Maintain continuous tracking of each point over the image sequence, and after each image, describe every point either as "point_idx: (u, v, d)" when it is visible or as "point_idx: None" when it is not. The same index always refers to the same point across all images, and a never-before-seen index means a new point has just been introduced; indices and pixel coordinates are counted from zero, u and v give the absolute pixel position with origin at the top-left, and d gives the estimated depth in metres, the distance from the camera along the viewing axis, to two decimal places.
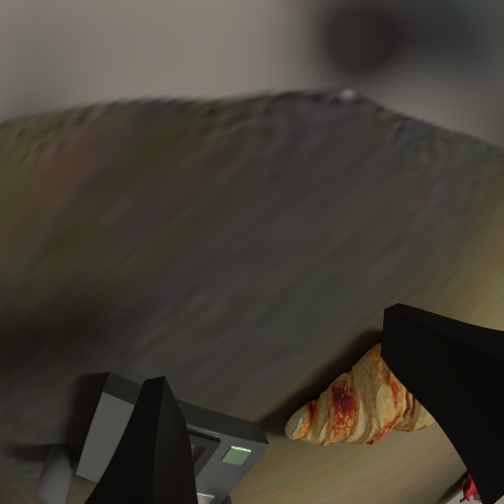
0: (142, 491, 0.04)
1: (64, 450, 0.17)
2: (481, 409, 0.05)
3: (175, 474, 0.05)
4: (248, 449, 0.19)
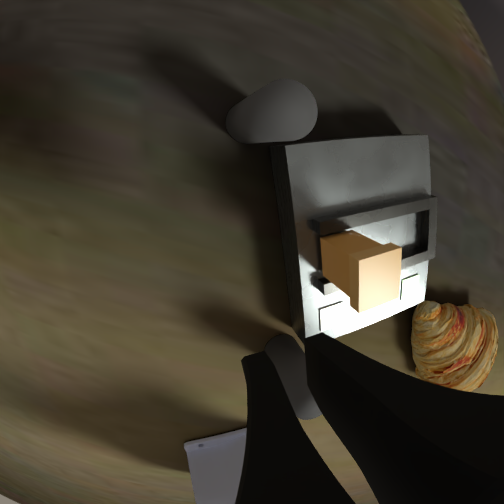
0: (305, 454, 0.04)
1: None
2: (394, 470, 0.05)
3: None
4: (417, 290, 0.20)
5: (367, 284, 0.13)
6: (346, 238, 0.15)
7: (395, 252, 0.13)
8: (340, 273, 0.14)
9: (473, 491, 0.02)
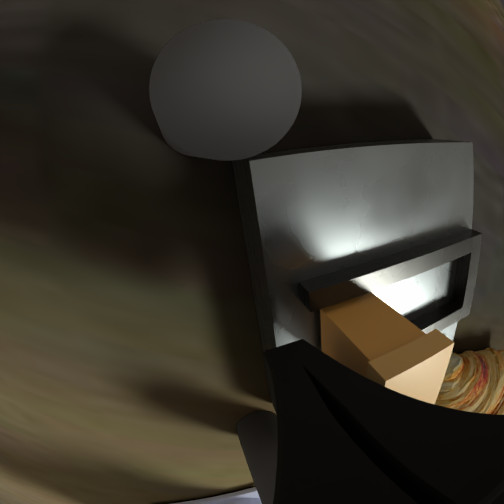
0: (339, 440, 0.04)
1: None
2: None
3: None
4: None
5: None
6: (361, 313, 0.09)
7: (443, 351, 0.07)
8: None
9: None
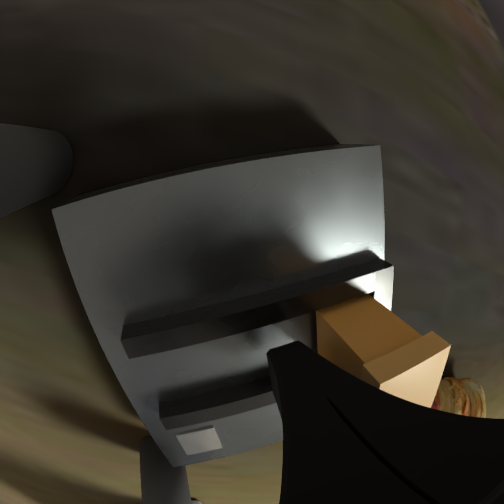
0: (344, 438, 0.04)
1: (67, 155, 0.08)
2: None
3: None
4: None
5: None
6: (357, 314, 0.09)
7: (440, 354, 0.07)
8: None
9: None
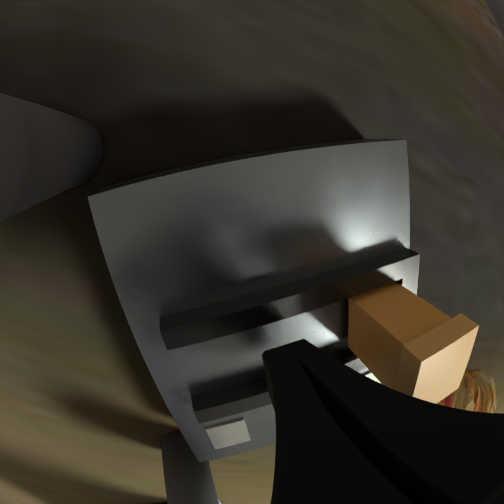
0: (337, 441, 0.04)
1: (98, 143, 0.08)
2: None
3: None
4: None
5: (425, 387, 0.07)
6: (389, 300, 0.09)
7: (469, 334, 0.07)
8: (379, 358, 0.09)
9: None
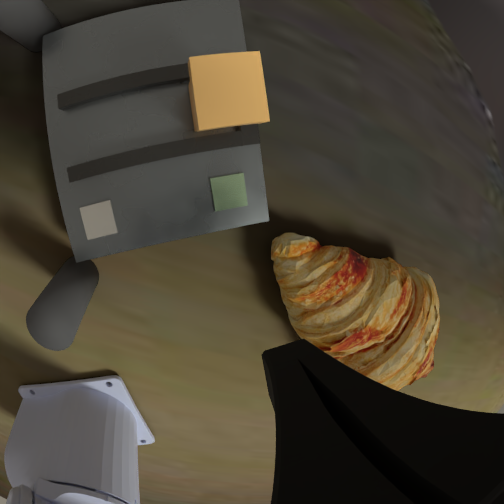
0: (337, 441, 0.04)
1: (57, 25, 0.11)
2: None
3: None
4: (248, 200, 0.15)
5: (207, 89, 0.09)
6: None
7: (250, 56, 0.09)
8: None
9: None
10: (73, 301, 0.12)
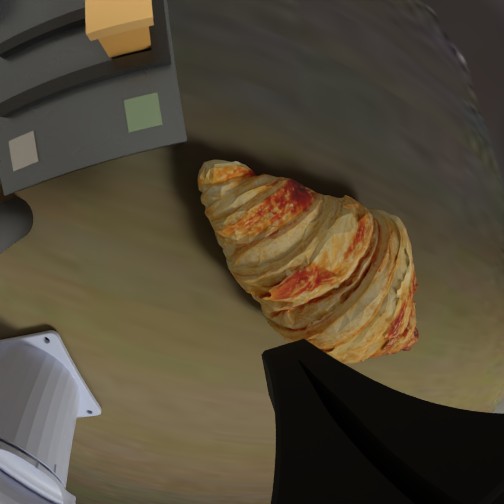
0: (337, 441, 0.04)
1: None
2: None
3: None
4: (163, 120, 0.13)
5: (97, 1, 0.07)
6: None
7: None
8: None
9: None
10: None
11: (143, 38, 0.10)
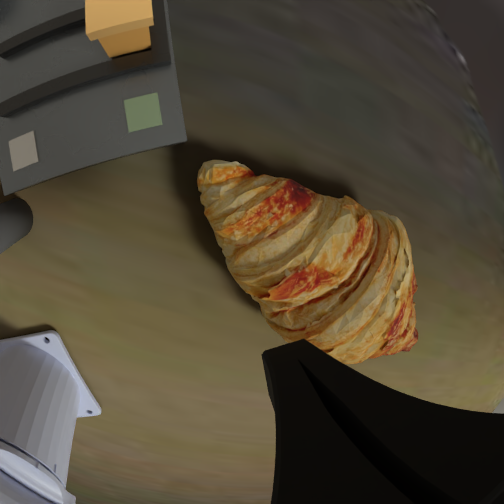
0: (337, 441, 0.04)
1: None
2: None
3: None
4: (163, 120, 0.13)
5: (97, 1, 0.07)
6: None
7: None
8: None
9: None
10: None
11: (143, 38, 0.10)
